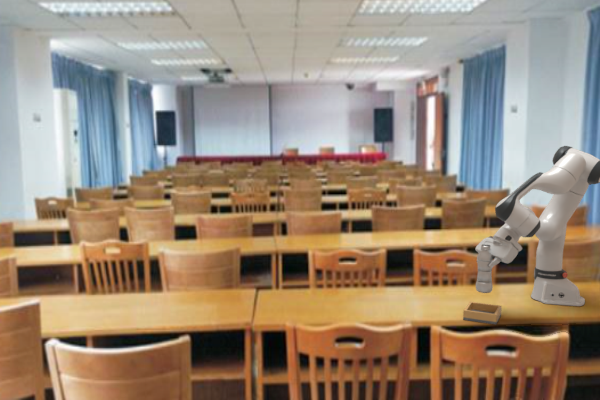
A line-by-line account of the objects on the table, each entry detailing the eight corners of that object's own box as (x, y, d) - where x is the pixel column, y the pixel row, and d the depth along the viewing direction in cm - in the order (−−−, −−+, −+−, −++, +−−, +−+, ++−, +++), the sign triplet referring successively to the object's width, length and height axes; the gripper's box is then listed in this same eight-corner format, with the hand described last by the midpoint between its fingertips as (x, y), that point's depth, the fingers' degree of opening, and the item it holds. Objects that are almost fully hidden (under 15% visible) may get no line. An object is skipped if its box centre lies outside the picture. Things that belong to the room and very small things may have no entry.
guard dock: (501, 314, 233) (501, 305, 233) (496, 324, 222) (496, 314, 221) (469, 310, 239) (469, 301, 239) (463, 319, 228) (463, 310, 227)
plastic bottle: (493, 295, 225) (495, 247, 222) (476, 294, 226) (478, 246, 224) (491, 291, 231) (493, 244, 229) (474, 290, 232) (476, 243, 230)
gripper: (484, 230, 238) (464, 254, 236) (516, 239, 218) (494, 265, 217) (493, 240, 239) (473, 264, 238) (525, 249, 220) (504, 275, 218)
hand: (483, 264), depth 227 cm, fingers closed on plastic bottle, 6 cm apart
